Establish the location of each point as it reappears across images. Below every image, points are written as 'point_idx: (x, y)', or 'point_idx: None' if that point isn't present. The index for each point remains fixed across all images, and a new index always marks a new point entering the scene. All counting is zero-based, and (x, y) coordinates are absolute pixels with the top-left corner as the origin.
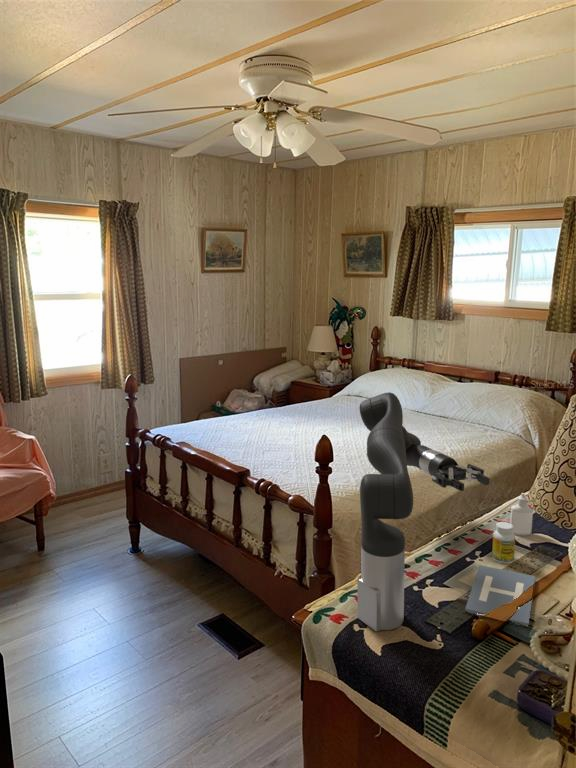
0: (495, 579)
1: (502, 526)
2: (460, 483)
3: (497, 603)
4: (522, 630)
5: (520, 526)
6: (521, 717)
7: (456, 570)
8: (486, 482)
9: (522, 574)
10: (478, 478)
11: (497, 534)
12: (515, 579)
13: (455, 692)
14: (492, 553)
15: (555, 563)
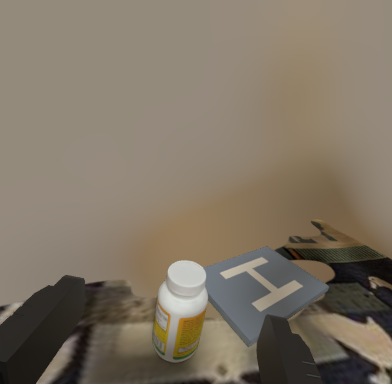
0: (251, 298)
1: (196, 272)
2: (289, 327)
3: (281, 271)
4: None
5: None
6: (320, 228)
7: None
8: (82, 300)
9: None
10: (22, 380)
11: (204, 292)
12: (222, 282)
13: (364, 250)
14: (195, 347)
15: (117, 280)
